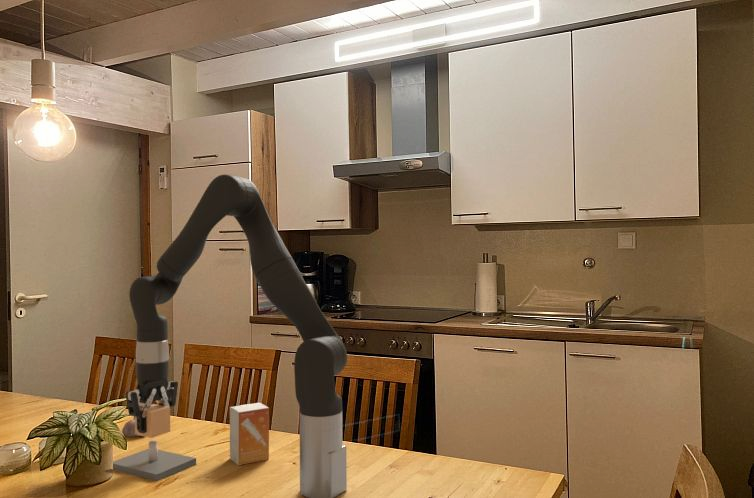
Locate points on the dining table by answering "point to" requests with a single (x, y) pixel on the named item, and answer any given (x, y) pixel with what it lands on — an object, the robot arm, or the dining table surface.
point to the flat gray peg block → (153, 463)
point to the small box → (249, 433)
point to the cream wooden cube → (156, 421)
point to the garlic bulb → (129, 428)
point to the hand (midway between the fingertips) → (153, 428)
